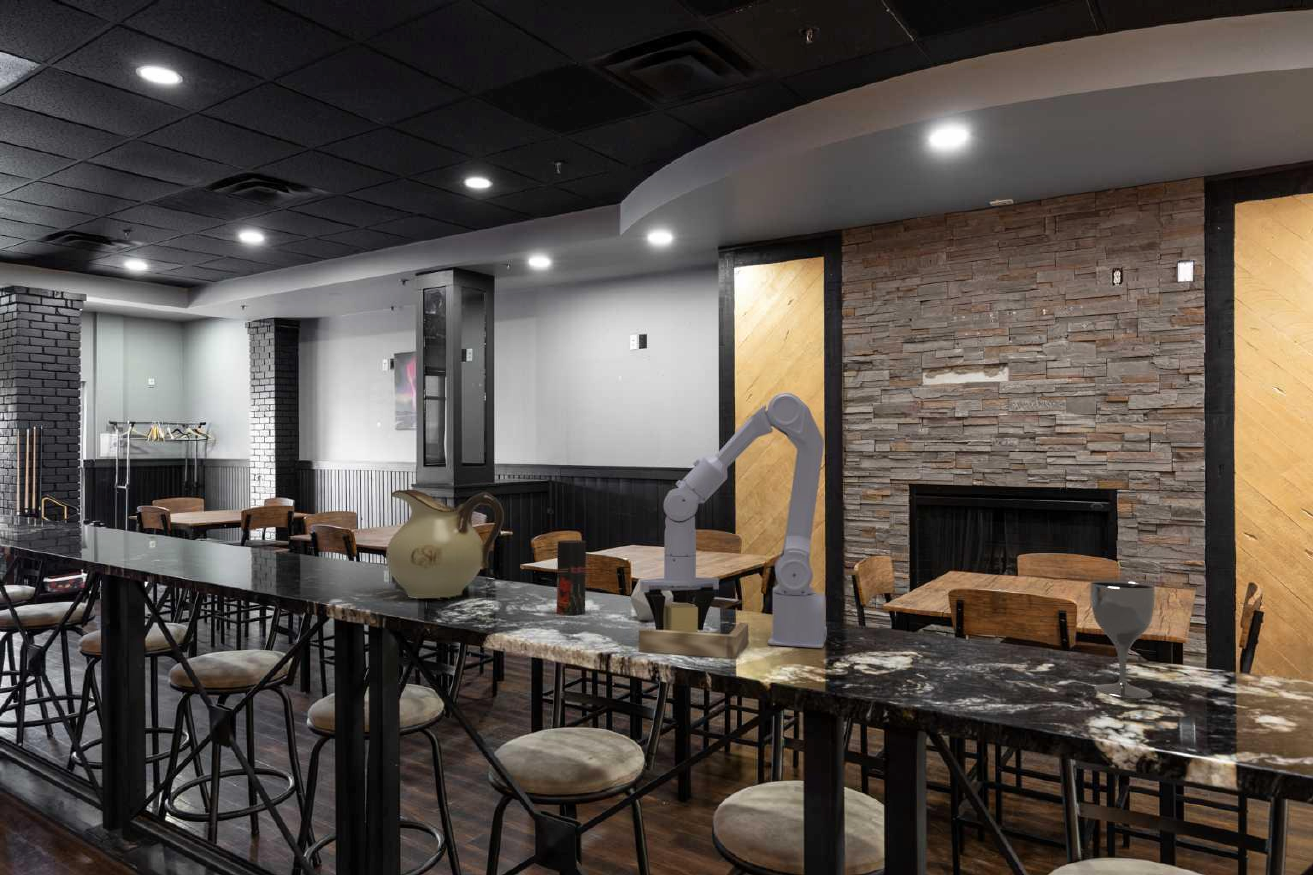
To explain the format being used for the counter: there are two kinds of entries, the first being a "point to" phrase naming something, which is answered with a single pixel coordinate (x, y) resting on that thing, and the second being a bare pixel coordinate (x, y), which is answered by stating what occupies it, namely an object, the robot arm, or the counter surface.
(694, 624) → the block
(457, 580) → the pitcher
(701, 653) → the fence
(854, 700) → the counter surface
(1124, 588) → the wine glass
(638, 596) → the die
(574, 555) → the deodorant
